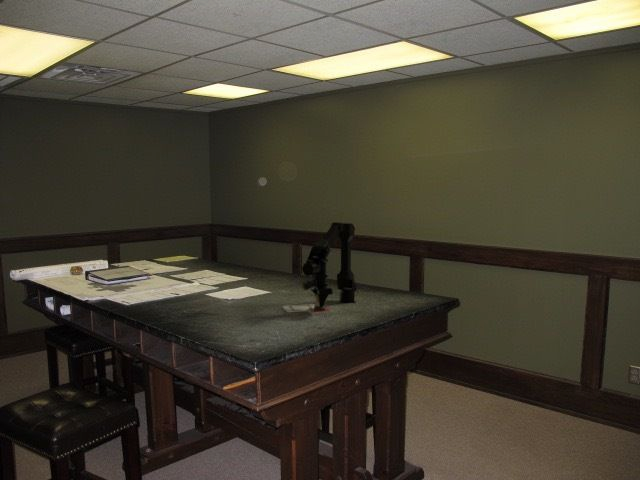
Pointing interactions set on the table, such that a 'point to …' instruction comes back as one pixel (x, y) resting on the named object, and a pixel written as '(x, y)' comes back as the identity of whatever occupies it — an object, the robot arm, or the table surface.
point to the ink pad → (315, 312)
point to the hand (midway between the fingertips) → (319, 306)
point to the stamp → (317, 306)
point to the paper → (298, 308)
